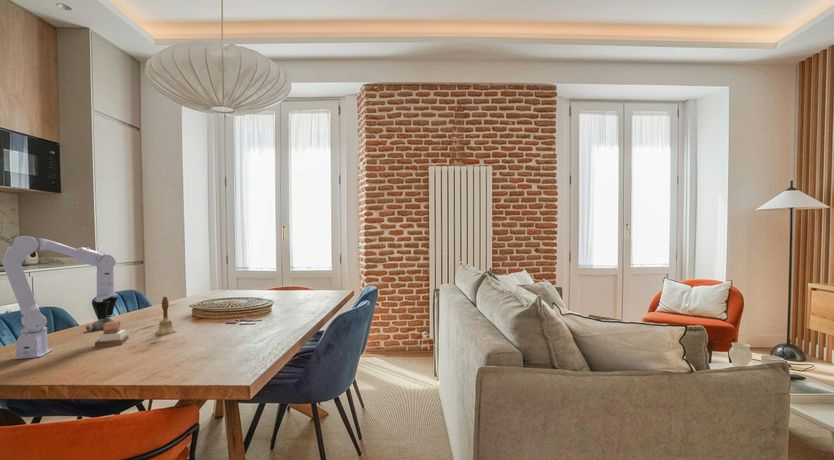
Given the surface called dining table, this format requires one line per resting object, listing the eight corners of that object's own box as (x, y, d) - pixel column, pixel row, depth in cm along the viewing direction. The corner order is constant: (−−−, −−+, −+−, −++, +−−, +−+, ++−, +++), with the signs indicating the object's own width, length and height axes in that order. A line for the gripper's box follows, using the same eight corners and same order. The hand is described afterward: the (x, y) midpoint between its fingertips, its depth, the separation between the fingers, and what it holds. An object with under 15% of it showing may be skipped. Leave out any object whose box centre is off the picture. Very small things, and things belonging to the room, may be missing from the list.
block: (117, 333, 169) (116, 323, 169) (103, 334, 167) (103, 324, 167) (120, 330, 173) (120, 321, 173) (107, 331, 171) (107, 322, 171)
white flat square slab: (120, 339, 168) (120, 333, 168) (99, 341, 166) (99, 335, 166) (125, 335, 175) (125, 329, 175) (106, 337, 173) (105, 331, 173)
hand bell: (174, 333, 184) (174, 297, 184) (152, 335, 181) (152, 298, 181) (177, 329, 192) (177, 294, 192) (156, 331, 189) (156, 296, 189)
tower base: (122, 346, 168) (122, 340, 168) (94, 348, 164) (94, 342, 164) (128, 340, 176) (128, 334, 176) (102, 343, 173) (102, 337, 173)
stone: (87, 334, 188) (102, 322, 189) (81, 325, 189) (96, 313, 190) (103, 335, 197) (118, 323, 199) (97, 326, 199) (112, 314, 200)
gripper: (110, 285, 166) (111, 319, 166) (122, 281, 180) (122, 312, 180) (89, 286, 163) (89, 321, 164) (102, 282, 177) (103, 314, 177)
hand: (105, 316), depth 171 cm, fingers open, 7 cm apart
